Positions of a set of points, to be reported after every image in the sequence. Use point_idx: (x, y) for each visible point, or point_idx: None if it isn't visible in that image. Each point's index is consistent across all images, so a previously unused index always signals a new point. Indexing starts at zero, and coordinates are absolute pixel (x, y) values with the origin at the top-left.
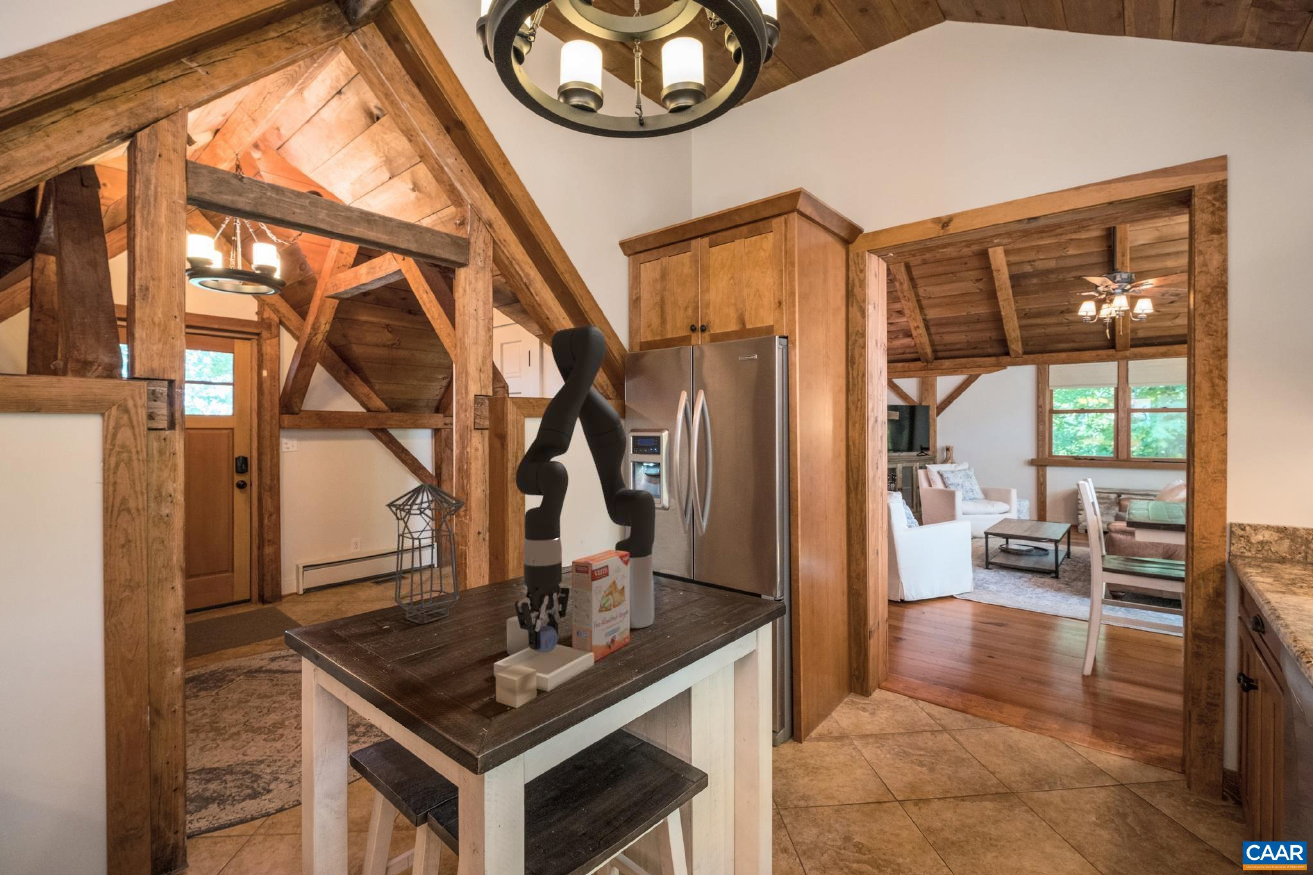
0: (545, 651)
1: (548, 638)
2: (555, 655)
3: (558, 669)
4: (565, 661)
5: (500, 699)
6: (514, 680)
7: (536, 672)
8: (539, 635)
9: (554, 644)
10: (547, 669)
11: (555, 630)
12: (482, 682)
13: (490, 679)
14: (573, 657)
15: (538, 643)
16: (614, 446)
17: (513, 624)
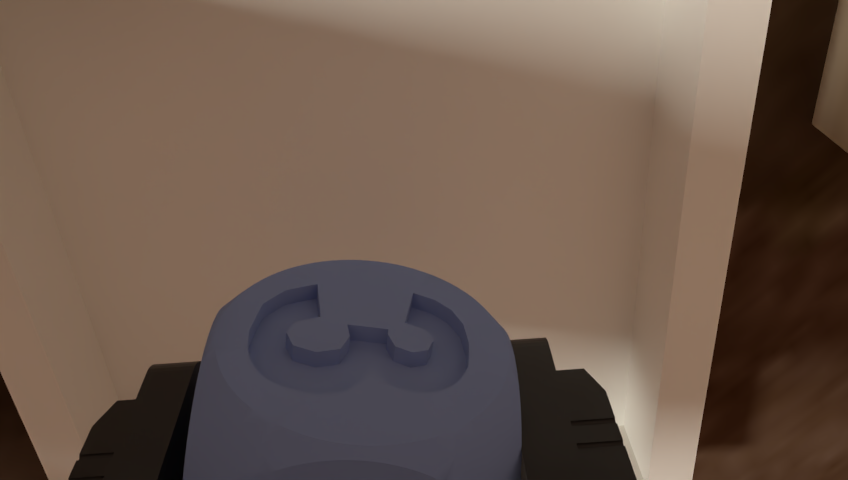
0: (433, 279)
1: (379, 380)
2: (100, 350)
3: None
4: (119, 188)
5: None
6: None
7: (701, 93)
8: (541, 469)
9: (290, 288)
10: (368, 193)
11: (185, 454)
12: (774, 419)
13: (710, 415)
14: (18, 162)
15: (549, 382)
16: None
17: None
